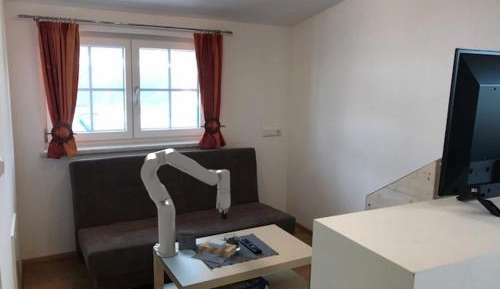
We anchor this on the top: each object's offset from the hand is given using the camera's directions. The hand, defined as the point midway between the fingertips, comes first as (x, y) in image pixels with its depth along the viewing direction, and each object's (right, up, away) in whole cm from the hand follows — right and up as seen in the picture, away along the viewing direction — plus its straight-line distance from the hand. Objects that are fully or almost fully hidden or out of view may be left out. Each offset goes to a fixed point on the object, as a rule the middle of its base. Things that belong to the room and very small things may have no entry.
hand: (224, 219), depth 240 cm
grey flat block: (-4, -15, -5) cm, 16 cm away
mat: (-8, -20, -13) cm, 25 cm away
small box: (-23, -18, +2) cm, 29 cm away
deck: (-4, -19, -4) cm, 20 cm away
